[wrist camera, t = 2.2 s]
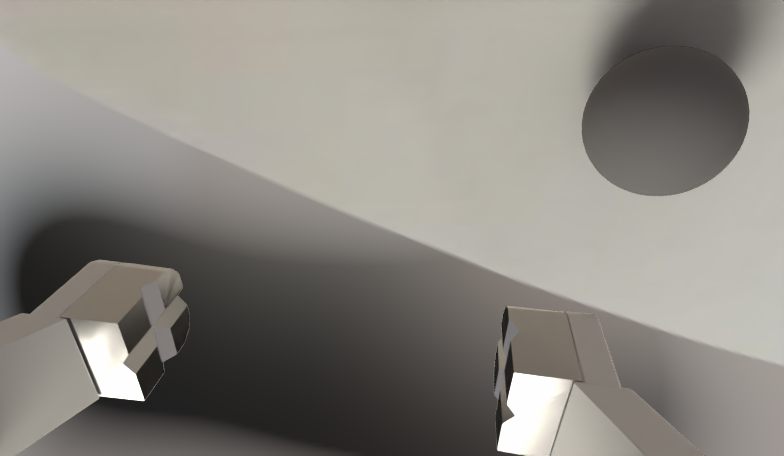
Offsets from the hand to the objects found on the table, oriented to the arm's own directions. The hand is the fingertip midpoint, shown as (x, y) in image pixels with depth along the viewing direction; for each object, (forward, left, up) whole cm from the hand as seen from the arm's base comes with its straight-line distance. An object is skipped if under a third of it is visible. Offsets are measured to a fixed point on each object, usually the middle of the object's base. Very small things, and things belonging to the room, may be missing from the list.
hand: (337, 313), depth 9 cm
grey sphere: (0, +10, -12) cm, 16 cm away
